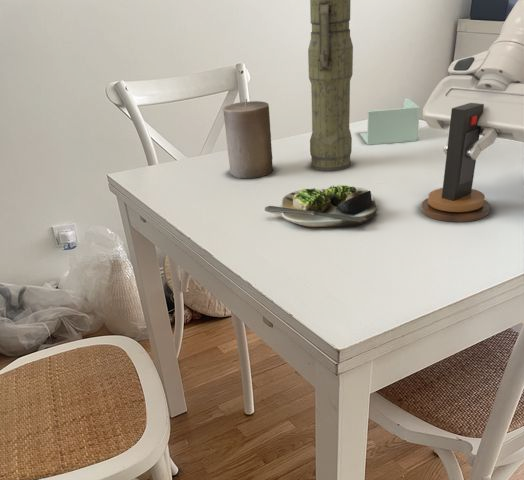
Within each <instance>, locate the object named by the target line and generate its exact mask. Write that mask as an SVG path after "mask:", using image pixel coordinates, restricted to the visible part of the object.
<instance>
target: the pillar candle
mask: <svg viewBox="0 0 524 480" xmlns="http://www.w3.org/2000/svg"><path fill="white" fill-rule="evenodd" d="M222 112H223V118H224V119H223V120H224V128H225V137H226V148H227V155H228V163H229V174H230V175H231V176H233V177H235V178H237V179H255V178H260V177H264V176H268V175H270V174H272V173H273V172H274V167H273V148H272V133H271V118H270V116H271V115H270V106H269V103H268V102H266V101H261V100H260V101H259V100H254V101H253V100H252V101H248V99H247V98H245V100H244V101H241V102H234V103H232V104H227V105H225V106H224V107H223V108H222Z"/></svg>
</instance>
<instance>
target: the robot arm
mask: <svg viewBox="0 0 524 480" xmlns="http://www.w3.org/2000/svg"><path fill="white" fill-rule="evenodd" d="M447 72H448V75H447V76H444V78H442V79H441V80H440V81H439V82H438V83H437V85H436V86H435V87H434V89H433V91H432V92H431V94H430V95H429V97H428V99H427V100H426V102H425V104H424V106H423V108H422V118H423V120H424V121H425V123H426V124H427V126H428V127H429V128H433V129H439V130H444V131H447V139H448V138H449V129H450V120H451V111H452V108H455V107H458V106H461V105H465V104H468V103H478V104H484V108H483V113H482V115H481V117H480V118H479V120H478V123H477V125H478V126H481V129H480V136H481V137H479V140H478V141H477V142H476V143H475V144H471V143H470V144H469V145H468V148H467V149H466V150H465V156H467V157H466V158H469V159H473V160H476V161H477V159H478V157H479V156H480V155H481V153H482V152H483V151H484V150H486V149H487V148H489V147H490V146H492V145H493V144H494V143H495V141H496V140H497V139H503V140H509V141H515V142H523V143H524V0H517V1H516V2H515V4H514V6H513V8H512V9H511V11H510V12H509V13H508V15H507V17H506V18H505V21H504V22H503V24H502V26H501V30H500V34H499V35H498V37H497V39H496V40H495V41H494V42H492V44H491V45H490V46H489V48H488V49H487V50H485V51H482V52H480V53H477V54H474V55H470V56H467V57H463V58H459V59H456V60H453V61H452V62H451V63H450V65H449V66H448V69H447ZM447 146H448V140H447V141H446V142H445V144H444V146H443V152H444V155H447Z"/></svg>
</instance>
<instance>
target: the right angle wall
mask: <svg viewBox="0 0 524 480" xmlns="http://www.w3.org/2000/svg"><path fill="white" fill-rule="evenodd" d="M420 111H421V107H420V106H419V105H417V104H416V103H415V102H413V101H412V99H410V98H407V97H405V98H404V99H403V107H398V108H397V107H396V108H388V109H386V108H385V109H375V110H374V109H373V110H367V124H366V125H367V127H366V128H367V129H366V131H367V132H359V135H360V136H361V138H362V139H363V140H364V142H365V144H366V145H368V146H371V145H381V144H382V145H383V144H394V143H395V144H396V143H407V142H417V141H418V138H419V137H418V136H419V126H420V125H419V124H420Z"/></svg>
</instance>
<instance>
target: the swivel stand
mask: <svg viewBox="0 0 524 480" xmlns="http://www.w3.org/2000/svg"><path fill="white" fill-rule="evenodd" d="M490 208H491V205H490V203H489V201H487V200H486V199H485V200H484V205H483V206H482V207H481V208H479V209H477V210H473V211H467V212H448V211H442V210H438V209H435V208H433V207H431V206H430V205H429V204H428V197H427V198H425V199H424V200H423V201H422V202H421V208H420V210H421V213H422V214H423V215H424V216H426V217H428V218H430V219H432V220H437V221H442V222H447V223H448V222H449V223H450V222H451V223H465V222H466V223H467V222H473V221H478V220H482V219H483V218H485V217H487V216H488V215H489V213H490Z"/></svg>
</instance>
